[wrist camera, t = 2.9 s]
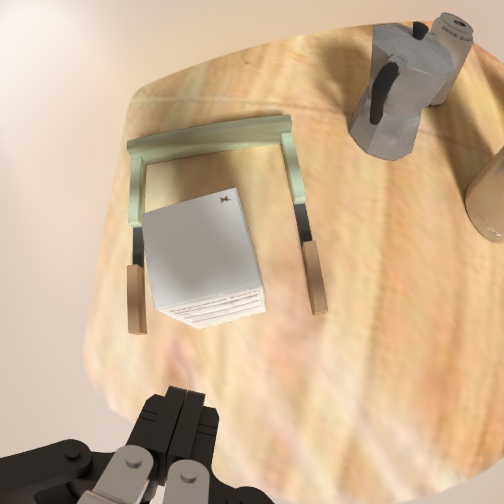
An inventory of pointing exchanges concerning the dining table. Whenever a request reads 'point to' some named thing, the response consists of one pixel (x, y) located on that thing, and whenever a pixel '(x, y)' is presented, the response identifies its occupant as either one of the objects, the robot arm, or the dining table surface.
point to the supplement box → (203, 261)
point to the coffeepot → (399, 88)
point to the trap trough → (204, 143)
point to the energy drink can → (452, 47)
